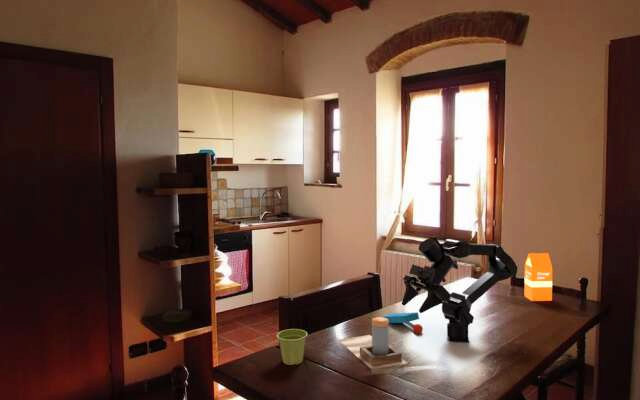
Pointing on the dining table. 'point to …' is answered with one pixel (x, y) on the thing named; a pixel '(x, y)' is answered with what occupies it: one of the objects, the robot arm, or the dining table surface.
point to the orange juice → (538, 277)
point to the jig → (364, 352)
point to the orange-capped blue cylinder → (380, 336)
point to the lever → (405, 320)
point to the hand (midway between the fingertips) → (411, 308)
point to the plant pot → (292, 345)
